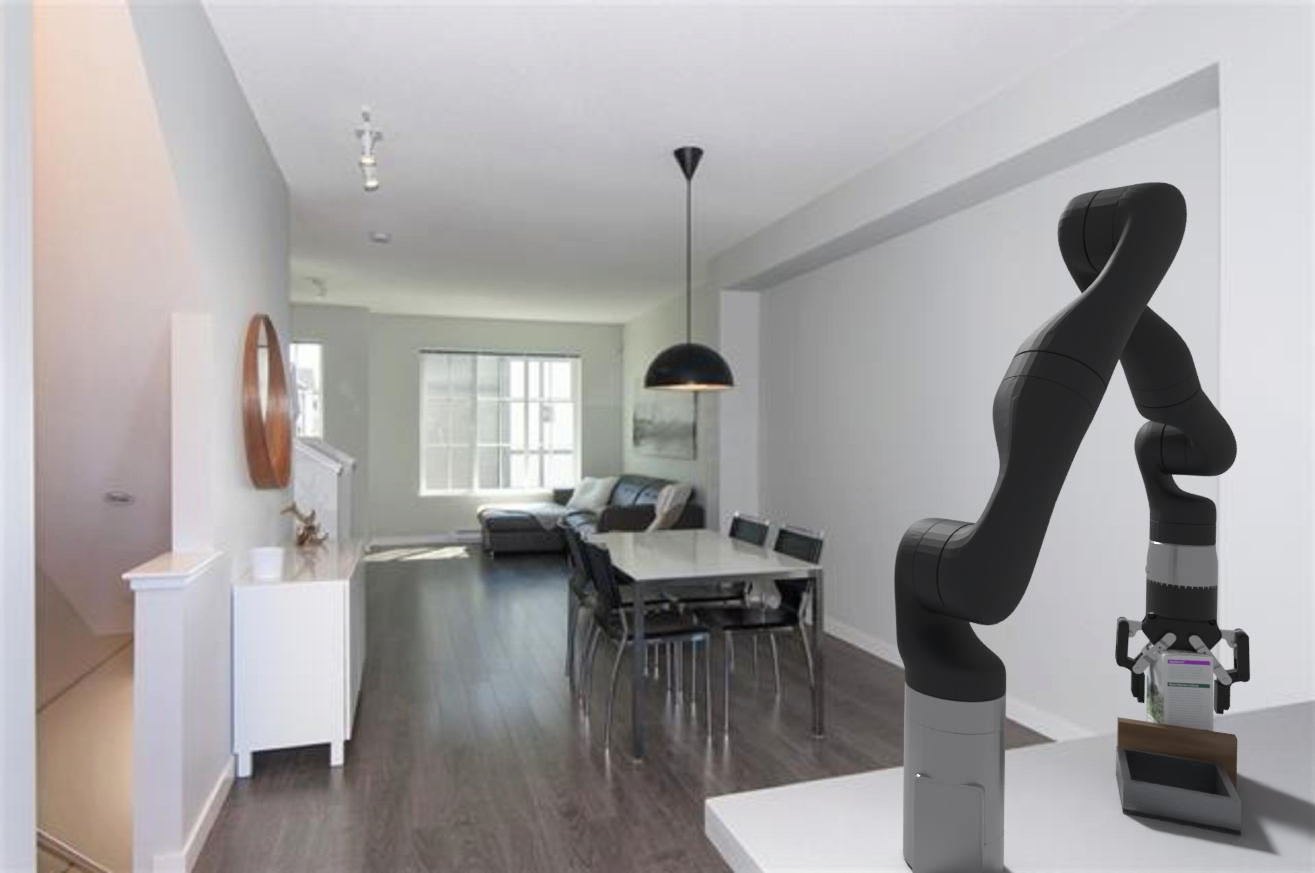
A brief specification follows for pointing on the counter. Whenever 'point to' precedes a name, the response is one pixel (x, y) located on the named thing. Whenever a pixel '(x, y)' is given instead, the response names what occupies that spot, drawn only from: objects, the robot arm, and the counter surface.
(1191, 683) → the syrup box
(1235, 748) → the door edge slab
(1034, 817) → the counter surface
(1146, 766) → the keeper pocket
